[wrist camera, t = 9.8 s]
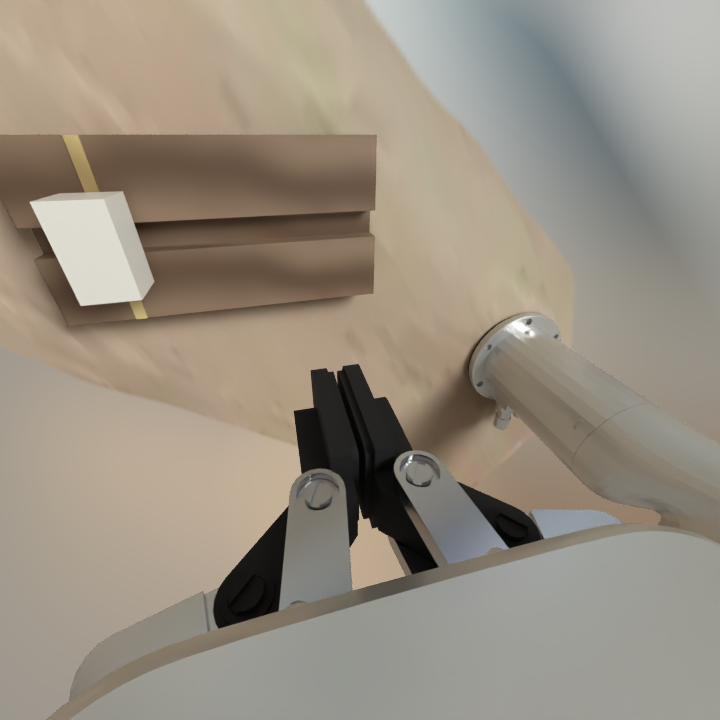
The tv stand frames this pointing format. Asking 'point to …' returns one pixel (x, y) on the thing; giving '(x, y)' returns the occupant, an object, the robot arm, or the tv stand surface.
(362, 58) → the tv stand surface
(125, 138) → the fader console
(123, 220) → the fader knob
